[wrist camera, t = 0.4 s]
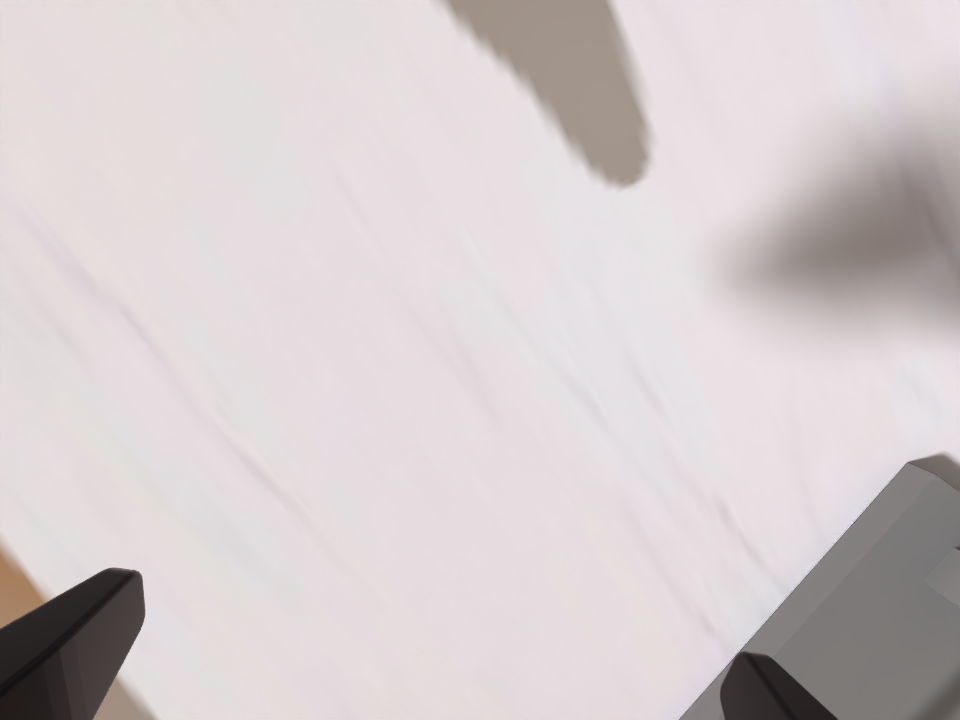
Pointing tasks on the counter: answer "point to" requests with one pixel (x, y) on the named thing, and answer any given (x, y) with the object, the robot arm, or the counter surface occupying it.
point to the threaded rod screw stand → (875, 613)
